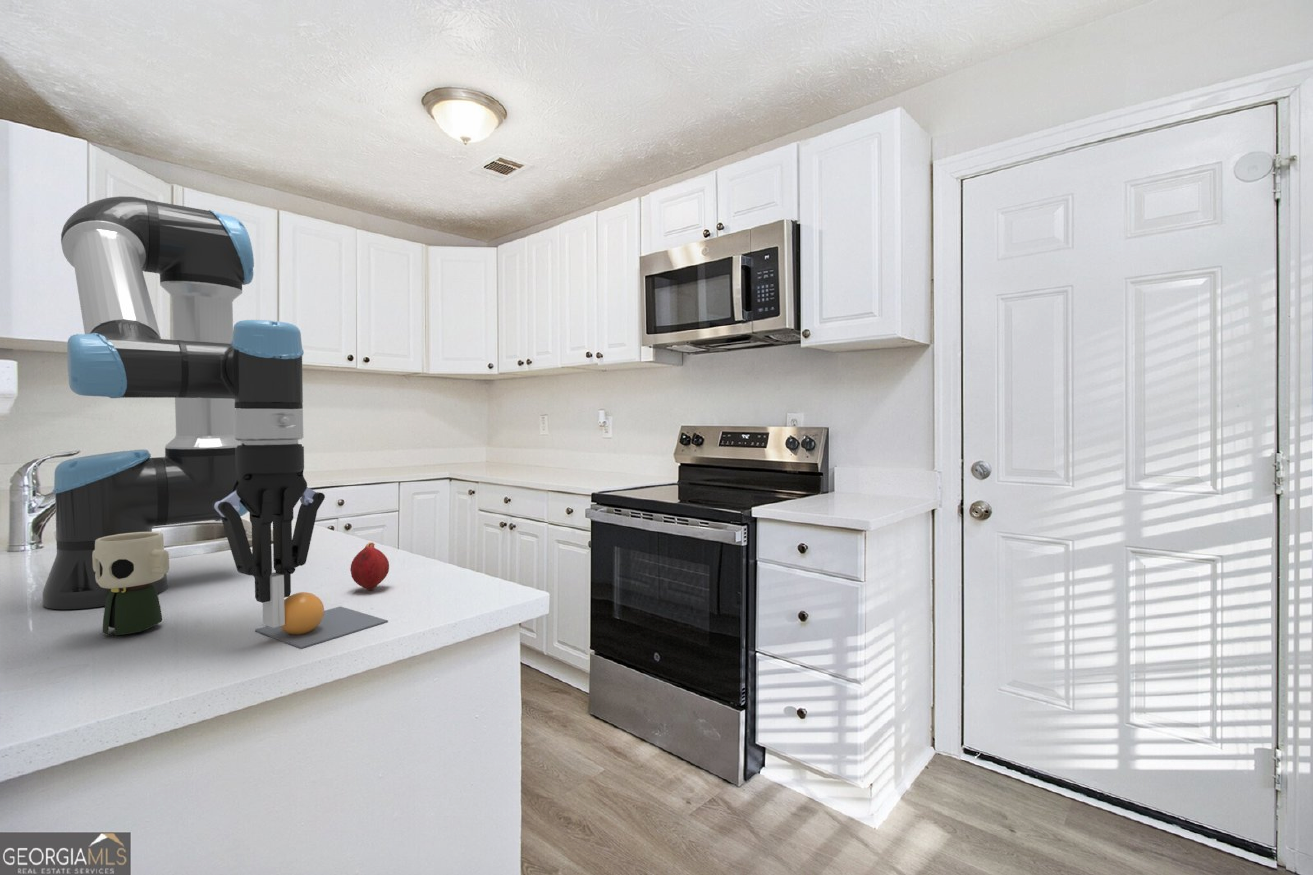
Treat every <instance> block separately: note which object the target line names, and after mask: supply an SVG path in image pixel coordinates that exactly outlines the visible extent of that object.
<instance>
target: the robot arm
mask: <svg viewBox="0 0 1313 875" xmlns="http://www.w3.org/2000/svg"><path fill="white" fill-rule="evenodd" d="M246 228H247V227H245V225H244V224H243V222H242V221H240V220H239V219H238V218H236V217H234V216H231V215H227V214H222V213H220V212H215V211H213V210H212V209H211V210H210V209H209V210H206V209H202V208H195V207H189V206H184V205H177V204H173V203H168V202H161V201H156V200H150V199H146V198H141V197H136V196H113V197H105V198H101V199H98V200H94V201H93V202H90V203H87V204H85V205H84V206H82V207H80V208H79V209H77V210H76V211H75V212H74V213H72V214H71V215H70V216H69V217H68V219H67V220H66V221H65V222H64V225H63V227H62V231H61V234H60V242H61V248H62V253H63V255H64V258H65V259H66V261H67V262H68V263H69V265H70V266H72V267H73V269H74V274H75V279H76V280H75V281H76V287H77V291H78V292H77V293H78V298H79V299H78V300H79V304H80V312H81V317H82V325H83V332H84V333H81V334H79V333H77V334H73V335H70V337H68V339H67V345H66V346H67V347H66V348H67V350H66V351H67V353H66V354H67V355H66V356H67V358H66V359H67V373H68V374H67V376H68V385H69V388H70V390H71V391H72V392H73V393H75V394H77V395H79V396H86V397H103V398H104V397H106V398H110V399H120V398H121V399H122V398H124V399H125V398H127V399H128V398H131V399H132V398H133V399H134V398H136V399H137V398H138V399H139V398H141V399H142V398H144V399H145V398H154V399H155V398H158V399H159V398H169V399H170V398H173V399H174V405H175V406H174V407H175V408H174V409H175V411H174V413H175V415H174V416H175V436H174V438H172V439H171V440H170V441H169V442H168V443H167V444H165V447H164V454H165V455H164V456H160V457H152V456H151V453H150V452H149V450H147V449H132V450H123V451H121V450H120V451H113V452H106V453H98V454H91V455H85V456H80V457H79V456H78V457H74V458H70V459H66V460H64V461H63V460H62V461H61V462H60V463H59V464H58V465H56V467H55V469H54V476H53V477H54V480H53V481H54V483H53V484H54V485H53V489H52V494H54V497H55V498H54V503H55V507H54V508H55V537H56V538H55V539H56V540H55V541H56V542H55V543H56V555H55V558H54V561H53V563H52V566H51V569H50V572H49V574H48V575H47V576H48V577H47V579H46V582H45V584H44V588H43V589H42V605H43V607H44V608H47V609H52V610H79V609H81V610H82V609H90V608H98V607H99V608H100V607H105V603H106V597H107V595H108V593H109V592H110V590H111V589H109V588H102V587H100V586H99V584H98V583H97V582H96V578H95V574H96V572H95V571H94V570H93V559H92V553H93V551H94V550H95V540H96V539H98V538H102V537H106V536H111V535H117V534H125V533H135V532H153V528H154V527H161V526H171V525H179V524H180V525H181V524H189V523H199V522H207V521H209V522H210V521H216V522H220V521H221V522H222V526H223V529H224V532H225V536H226V538H227V539H226V540H227V543H228V546H229V548H230V551H231V554H232V557H233V558H232V559H233V561H234V564H235V568H236V570H237V572H238V573H239V574H244V575H246V576H253V577H254V599H255V600H256V602H259V603H262V625H264V626H269V627H272V628H275V627H279V626H283V625H285V608H284V600H285V599H286V598H288V597H289V596H291V593H292V586H291V585H292V582H291V581H292V578H291V575H293V574H294V573H295V572H296V568H298V567H300V566H301V567H302V566H304V565H306V562H307V560H308V554H309V550H310V546H311V541H312V537H313V532H314V528H315V523H316V520H317V518H316V517H317V514H318V511H319V508H320V507H321V505H322V503H323V502H324V500H325V499H326V496H325V493H323V492H318V491H315V490H313V489H312V488H309V487H308V482H307V480H306V479H305V476H304V471H305V446H303V445H302V444H301V443H299V440H303V438H304V409H303V407H304V405H303V403H304V399H303V398H304V396H303V395H304V394H303V392H304V391H303V386H304V385H303V356H304V349H303V344H302V333H301V330H300V328H299V327H298V326H296V325H294V324H293V323H289V322H283V321H278V320H269V319H245V320H239V321H237V322H236V323H235V324H234V318H233V316H234V315H233V314H234V313H233V312H234V310H233V302H234V301H235V299H237V298H238V297H239V296H241V295H242V294H243V286H246V285H250V283H252V281H253V279H254V267H255V262H254V260H255V259H254V251H253V245H252V242H251V239H250V234H249V233H248V230H247V229H246ZM144 272H145V273H146V272H147V273H153V274H158V275H159V285H160V287H161V288H163V290H165V291H166V292H167V293H168V294H169V295H170V297H171V301H172V304H171V305H172V313H171V314H172V334H173V335H172V339H167V338H166V339H165V338H162V337H161V334H160V330H159V326H158V322H157V319H156V315H155V311H154V307H153V305H152V301H151V298H150V294H149V290H148V285H147V282H146V278H145V276H144ZM299 500H300V506H299V509H298V513H297V517H296V522H295V525H294V529H293V528H292V525H293V524H292V522H293V520H294V508H295V507H296V505H297V504H298V502H299ZM248 512H249V521H250V523H251V545H250V543H249V539H248V536H247V533H246V529H245V527H244V522H243V519H242V517H243V516H244V515H246V514H247V513H248ZM292 529H293V530H292ZM292 532H293V533H292ZM272 553H273V554H272ZM272 555H273V557H272ZM272 565H273V567H272ZM273 570H274V571H275V572H273ZM151 584H152V585H154V586H155V588H156V589H157V594H159V593H162V592H164V591H165V590H166V589H168V576H167V573H166V574H164V577H163V578H161V579H160V580H157V581H155V582H152V583H151Z"/></svg>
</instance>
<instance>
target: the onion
mask: <svg viewBox="0 0 1313 875" xmlns="http://www.w3.org/2000/svg"><path fill="white" fill-rule="evenodd" d="M375 544H376V543H374V542H372V541H371V542H368V543H367V544H366V545H365V547H364V548H362V549H361V550H360V551H359V552H357V554H356V555H355V557H354V558H353V559H352V562H351V564H350V574H351V578H352V580H353V582H354V583H356V585H358V586H360V587H361V588H363V589H366V590H368V591H373V590H375V589H376V587H377V586H378V585H379V584H381V583H382V582H383V581H384V580H385V578H387V575H388V574H389V570H390V563H389V559H388V558H387V556H386V555H385V554H384V552H382V551H381V550H379V549H377V548H376V547H375Z"/></svg>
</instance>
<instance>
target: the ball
mask: <svg viewBox="0 0 1313 875" xmlns="http://www.w3.org/2000/svg"><path fill="white" fill-rule="evenodd" d="M284 608H285V625H283V626H280V627H281V628H282V629H283V630H284V631H285V632H287V633H290V634H294V635H300V634H305V633H308V632H310V631H312V630H314V629H315V628H316V627H317V626H318V625H319V624H320V622H321V621H322V618H323V615H324V611H325V608H324V604H323V601H322V599H320V598H319V597H318V596H317V595H316V594H313V593H312V592H307V591H306V592H305V591H302V592H301V591H300V592H295V593H293V594H290V596H289V597H285V598H284Z"/></svg>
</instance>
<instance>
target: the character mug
mask: <svg viewBox="0 0 1313 875" xmlns="http://www.w3.org/2000/svg"><path fill="white" fill-rule="evenodd" d="M92 559H93V570H94V571H95V572H96V574H95V578H96V582H97V583H98V584H99V586H100V587H102V588H109V589H111V590H110V592H109V593H108V595H107V597H106V603H105V606H104V610H103V619H102V631H101V633H102V634H104V635H109V630H110V628H111V629H114V635H115V636H119V635H128V634H135V633H140V632H145V631H146V630H147V629H150V628H152V627H154V626H156V625H158V624H160V623H162V622H163V615H162V608H161V603H160V599H159V595H158V594H159V593H157V589H156V588H155V586H154V585H152V584H151V583H152V582H155V581H157V580H160V579H161V578H163V577H164V574H166V575H167V574H168V573H169V572H170V571H169V570H170V553H169V551H168V550H165V545H164V534H163V533H162V532H159V531H152V532H135V533H125V534H117V535H111V536H106V537H102V538H98V539H96V540H95V550H94V551H93V553H92Z"/></svg>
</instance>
